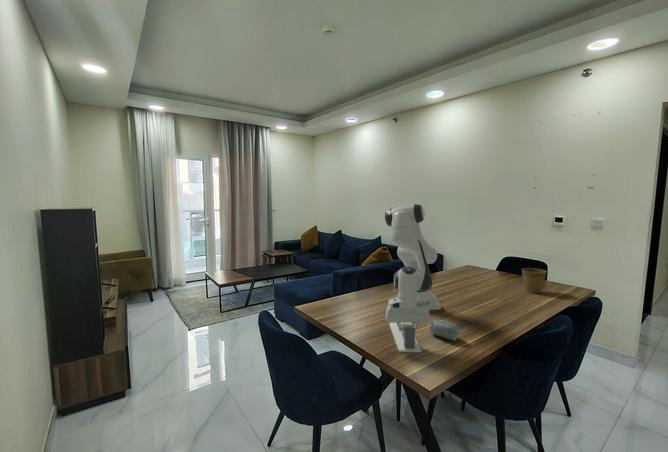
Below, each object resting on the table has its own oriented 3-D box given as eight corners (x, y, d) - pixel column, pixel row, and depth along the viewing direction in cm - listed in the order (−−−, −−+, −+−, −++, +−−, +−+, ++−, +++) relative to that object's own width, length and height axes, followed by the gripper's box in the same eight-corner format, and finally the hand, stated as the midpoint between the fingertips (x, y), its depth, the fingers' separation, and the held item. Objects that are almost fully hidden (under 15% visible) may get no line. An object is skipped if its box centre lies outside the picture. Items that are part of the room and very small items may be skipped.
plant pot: (544, 291, 228) (546, 269, 226) (545, 296, 215) (546, 273, 213) (520, 287, 235) (522, 266, 234) (520, 293, 223) (521, 271, 221)
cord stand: (407, 324, 171) (407, 307, 170) (421, 352, 141) (421, 331, 140) (389, 324, 171) (389, 307, 170) (399, 352, 142) (399, 331, 141)
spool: (424, 329, 157) (433, 312, 157) (432, 332, 164) (441, 315, 164) (447, 345, 147) (457, 327, 147) (455, 348, 153) (465, 330, 154)
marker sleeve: (411, 333, 151) (411, 322, 150) (413, 337, 146) (413, 326, 145) (400, 333, 151) (400, 322, 150) (402, 337, 146) (402, 326, 145)
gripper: (428, 300, 150) (427, 327, 151) (385, 299, 150) (384, 327, 151) (431, 304, 143) (431, 333, 145) (387, 304, 144) (386, 333, 145)
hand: (407, 330), depth 148 cm, fingers closed on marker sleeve, 5 cm apart
